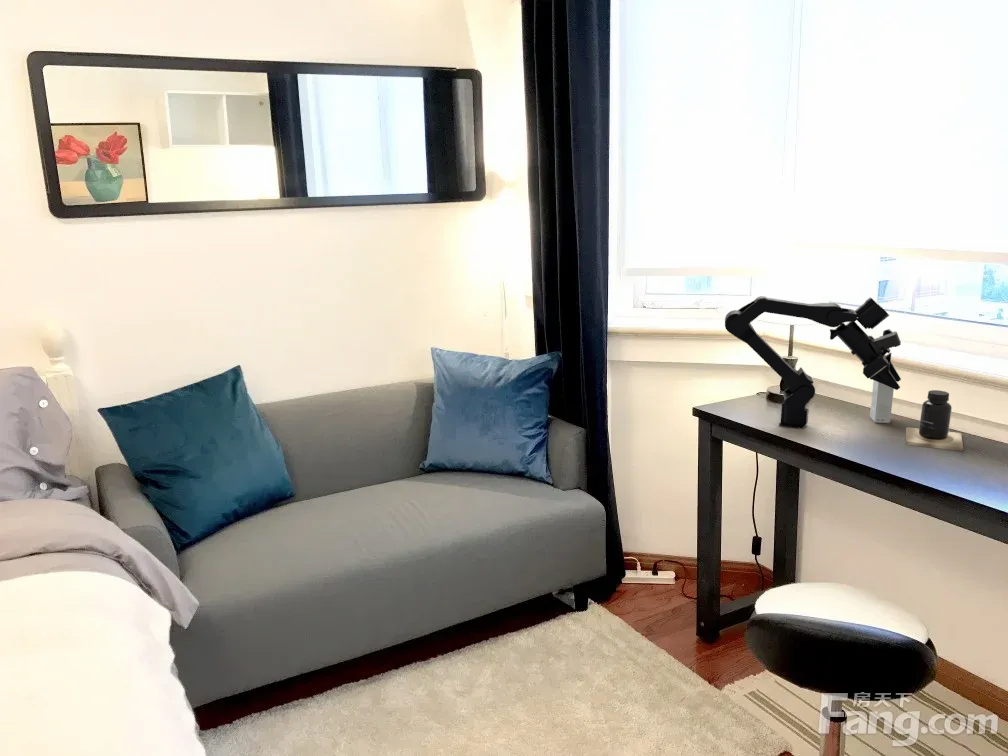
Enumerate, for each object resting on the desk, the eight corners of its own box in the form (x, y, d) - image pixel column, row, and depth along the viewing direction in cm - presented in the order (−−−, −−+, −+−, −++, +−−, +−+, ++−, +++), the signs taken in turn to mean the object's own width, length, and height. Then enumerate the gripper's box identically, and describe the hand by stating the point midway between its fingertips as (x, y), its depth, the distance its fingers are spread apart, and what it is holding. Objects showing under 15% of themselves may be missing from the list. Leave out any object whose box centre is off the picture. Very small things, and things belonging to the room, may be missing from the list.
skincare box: (890, 423, 224) (894, 382, 221) (874, 422, 225) (878, 381, 222) (885, 417, 230) (889, 376, 227) (869, 416, 231) (873, 376, 228)
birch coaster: (905, 444, 207) (905, 441, 207) (906, 430, 218) (906, 426, 218) (963, 450, 201) (963, 447, 201) (960, 435, 212) (960, 432, 212)
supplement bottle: (918, 438, 208) (923, 394, 205) (918, 431, 214) (923, 387, 211) (948, 441, 205) (954, 396, 202) (947, 434, 211) (952, 390, 208)
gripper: (881, 327, 203) (925, 373, 200) (884, 315, 219) (925, 358, 217) (845, 355, 208) (887, 400, 206) (850, 341, 224) (890, 383, 222)
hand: (899, 384), depth 212 cm, fingers open, 9 cm apart
